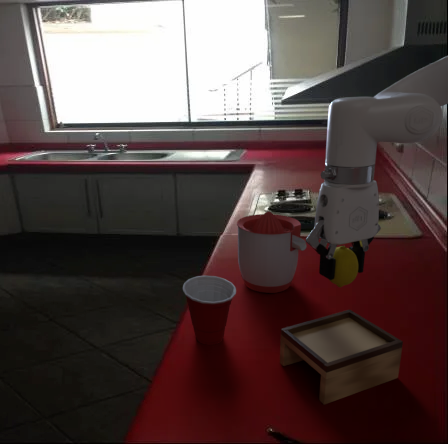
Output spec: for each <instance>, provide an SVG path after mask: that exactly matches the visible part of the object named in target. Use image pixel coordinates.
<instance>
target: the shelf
mask: <svg viewBox="0 0 448 444" xmlns="http://www.w3.org/2000/svg"><path fill="white" fill-rule="evenodd" d="M403 344H404V341H403V340H401V339H400V338H397V337H396V336H394V335H393V334H391V333H390V332H388V331H386V330H384V329H383V328H382V327H380V326H378V325H376V324H375V323H373V322H371V321H370V320H368V319H366V318H364V317H363V316H361V315H360V314H358V313H356V312H354V311H353V310H352V309H346V310H343V311H339V312H335V313H332V314H329V315H325V316H322V317H318V318H315V319H310V320H307V321H304V322H299V323H297V324H293V325H290V326H286V327H283V328H280V343H279V345H280V347H279V364H280V365H281V366H283V367H286V366H289V365H292V364H296V363H298V362H303V361H304V362H306V363H307V364H308V365H309V366H310V367H311V368H313V369H314V370H315V371H316V372H317V373H318V374H320V384H319V397H318V400H319V402H320V403H322V404H323V405H328V404H330V403H332V402H335V401H338V400H342V399H344V398H346V397H349V396H352V395H355V394H358V393H360V392H363V391H366V390H368V389H372V388H374V387H377V386H380V385H382V384H386V383H388V382H390V381H393V380H396V379H398V378H399V373H400V367H401V358H402V352H403V346H404V345H403Z"/></svg>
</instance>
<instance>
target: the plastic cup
mask: <svg viewBox="0 0 448 444" xmlns="http://www.w3.org/2000/svg"><path fill="white" fill-rule="evenodd" d="M182 291H183V293H184V296H185V299H186V302H187V305H188V311H189V315H190V320H191V325H192V327H193V332H194V336H195V339H196V341H198V342H199V343H200V344H202V345H206V346H207V345H208V346H213V345H217V344H219V343H221V342H222V341H223V339H224V337H225V330H226V327H227V322H228V317H229V312H230V307H231V305H232V301H233V298H234V297H235V296H236V294H237V287H236V286H235V285H234V284H233V282H231V281H229V280H228V279H226V278H223V277H220V276H216V275H197V276H193V277H191V278H188V279H187V280H186V281H185V282H184V283H183V285H182Z"/></svg>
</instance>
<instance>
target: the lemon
mask: <svg viewBox="0 0 448 444" xmlns="http://www.w3.org/2000/svg"><path fill="white" fill-rule="evenodd" d="M333 258H334V259H335V260H336V263H335V277H334V279H333V280H329V282H331V283H332V284H333V285H336V286H337V288H342V287H344V286H347V285H351V283H353V282H354V281H355V279H356V278H357V276H358V260H357V257H356V255H355V253H354V252H353V251H352V250H350V249H349V247H347V246H345V245H339V246H337V247H336V250H335V252H334V255H333Z"/></svg>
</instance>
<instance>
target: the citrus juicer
mask: <svg viewBox="0 0 448 444" xmlns="http://www.w3.org/2000/svg"><path fill="white" fill-rule="evenodd" d="M236 226H237V263H238V267H239V271H240V277H241V278H242V281H243V282H244V285H245V286H246V287H247V288H249V290H252V291H254V292H259V293H266V294H268V293H269V294H277V293H280V292H283V291H285V290H288V289H289V288H290V286H291V284H292V283H293V280H294V276H295V274H296V271H297V267H298V262H299V261H298V260H299V251H305V250H306V249H307V242H306V239H304V238H302V237H301V233H302V232H301V229H302V224H301V222H300V221H299V220H298V219H296V218H294V217H291V216H288V215H282V214H276V213H275V214H274V213H273V212H272V211H269V210H268V211H266V212H265V213H262V214H261V213H260V214H259V213H257V214H251V215H247V216H243V217H241V218H239V219H238V220H237V222H236Z"/></svg>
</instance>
